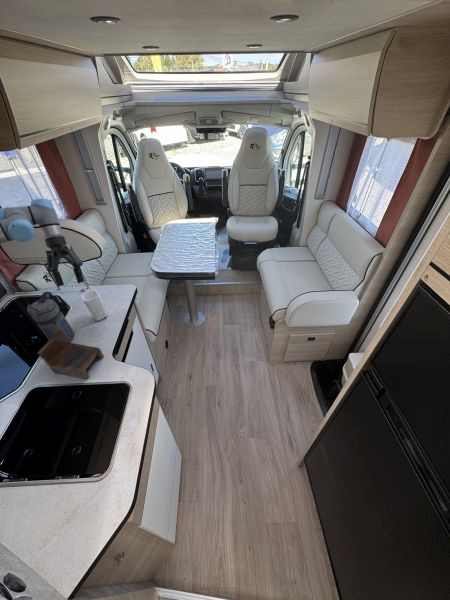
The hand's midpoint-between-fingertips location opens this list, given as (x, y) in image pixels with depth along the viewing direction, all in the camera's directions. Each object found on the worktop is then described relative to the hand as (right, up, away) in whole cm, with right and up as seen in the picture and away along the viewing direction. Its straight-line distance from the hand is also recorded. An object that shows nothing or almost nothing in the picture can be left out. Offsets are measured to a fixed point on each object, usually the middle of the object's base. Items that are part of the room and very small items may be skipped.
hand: (70, 284), depth 115 cm
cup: (+6, -16, +17) cm, 24 cm away
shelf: (+7, -35, -5) cm, 36 cm away
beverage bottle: (-7, -25, +7) cm, 27 cm away
